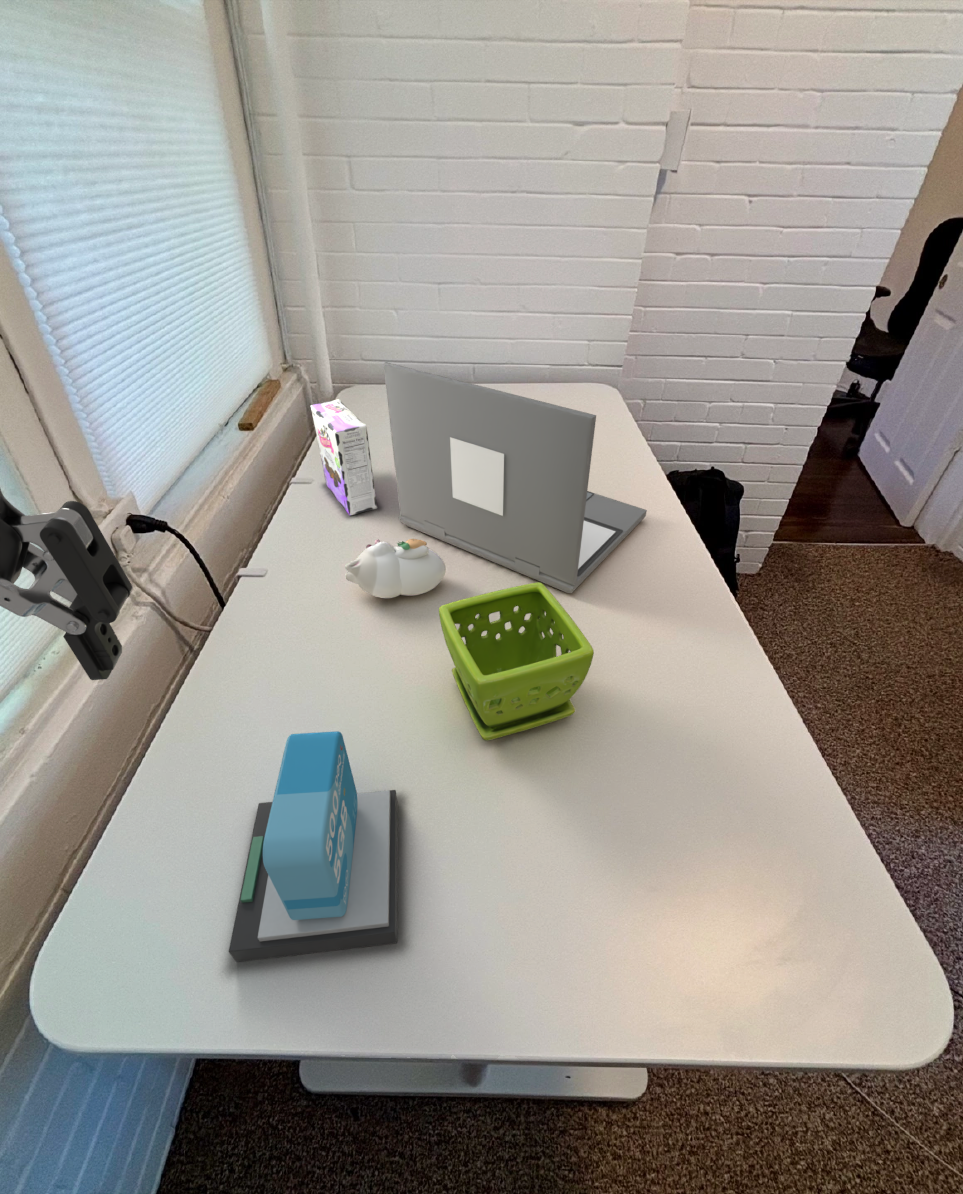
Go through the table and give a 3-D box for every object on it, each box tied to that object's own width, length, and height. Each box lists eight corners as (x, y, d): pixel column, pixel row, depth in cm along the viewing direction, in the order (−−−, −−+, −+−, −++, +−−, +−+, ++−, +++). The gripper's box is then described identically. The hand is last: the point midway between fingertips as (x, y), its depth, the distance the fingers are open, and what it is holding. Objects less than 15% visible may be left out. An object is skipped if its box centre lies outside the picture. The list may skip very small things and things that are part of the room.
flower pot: (586, 726, 71) (599, 651, 63) (477, 762, 67) (475, 686, 59) (537, 649, 81) (542, 576, 73) (440, 676, 77) (434, 602, 69)
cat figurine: (447, 528, 87) (343, 532, 83) (454, 579, 84) (346, 584, 81) (438, 555, 96) (343, 559, 92) (444, 602, 93) (346, 608, 90)
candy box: (325, 485, 117) (308, 403, 107) (353, 477, 119) (340, 397, 109) (348, 517, 108) (333, 431, 97) (379, 508, 110) (367, 424, 99)
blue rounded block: (346, 923, 51) (321, 854, 43) (293, 927, 50) (258, 858, 43) (359, 798, 60) (340, 723, 52) (314, 801, 60) (288, 726, 52)
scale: (235, 962, 51) (225, 948, 49) (264, 815, 62) (256, 798, 60) (397, 943, 52) (393, 928, 50) (397, 801, 63) (394, 784, 61)
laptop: (644, 522, 105) (676, 359, 87) (571, 599, 89) (591, 418, 71) (486, 470, 121) (485, 323, 103) (399, 527, 105) (380, 364, 87)
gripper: (-474, 449, 20) (-150, 740, 31) (-34, 428, 21) (136, 715, 32) (-281, 375, 26) (-63, 640, 36) (57, 361, 27) (176, 622, 37)
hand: (29, 675), depth 34 cm, fingers open, 8 cm apart
